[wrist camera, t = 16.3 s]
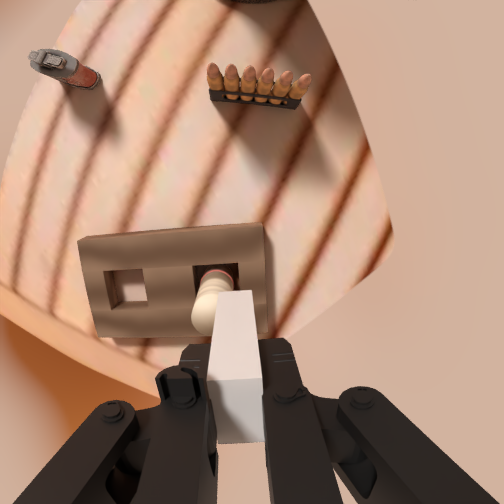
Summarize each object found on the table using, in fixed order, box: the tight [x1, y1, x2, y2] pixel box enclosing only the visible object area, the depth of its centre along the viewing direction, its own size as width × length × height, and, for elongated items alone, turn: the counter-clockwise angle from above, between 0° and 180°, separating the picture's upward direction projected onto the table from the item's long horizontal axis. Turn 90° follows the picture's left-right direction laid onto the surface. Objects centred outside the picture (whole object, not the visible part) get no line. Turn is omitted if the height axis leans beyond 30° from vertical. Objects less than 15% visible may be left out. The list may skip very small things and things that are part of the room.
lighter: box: [28, 49, 101, 90], centre depth 29 cm, size 8×3×10 cm, turn 63°
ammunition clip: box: [207, 63, 312, 110], centre depth 30 cm, size 11×2×12 cm, turn 84°
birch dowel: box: [191, 264, 234, 336], centre depth 36 cm, size 4×4×12 cm
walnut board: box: [77, 222, 268, 338], centre depth 40 cm, size 14×24×3 cm, turn 93°
